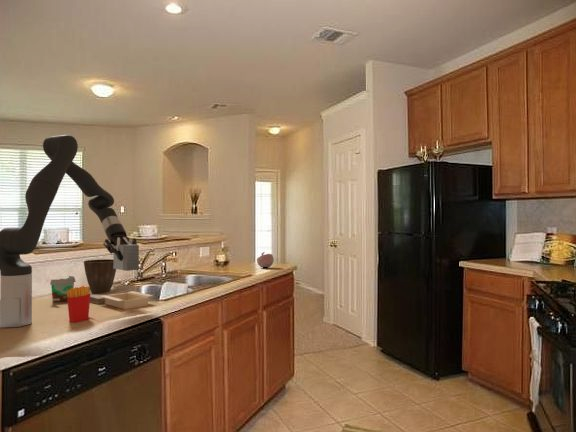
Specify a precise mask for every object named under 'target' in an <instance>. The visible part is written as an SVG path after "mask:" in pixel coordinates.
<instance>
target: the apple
mask: <svg viewBox="0 0 576 432" xmlns="http://www.w3.org/2000/svg"><path fill="white" fill-rule="evenodd" d="M274 258H275V257H274V256H273V254H272V253H265V251H263V252H261V255H259V256H258V257H257V258H256V263H257V265H258V266H259V267H260V268H262V267H269V268H270V267H272V266H273V264H274V262H275V261H274V260H275V259H274Z"/></svg>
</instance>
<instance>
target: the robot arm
mask: <svg viewBox="0 0 576 432" xmlns="http://www.w3.org/2000/svg"><path fill="white" fill-rule="evenodd" d="M78 149H79V145H78V141H77V139H76V138H75V137H74V135H70V134H62V135H53V136H48V137H46V138H45V139H44V140H43V142H42V150H43V151H44V154H45V155H46V156H47V157H48V158H49V159H50V161H49V162H48V164H46V165H45V166H44V167H43V168H42V169H41V170H39V171H38V172H37V173H36V174H35V175H34V177H32V179H31V180H30V182H29V185H28V187H27V189H26V192H25V195H24V196H25V197H24V198H25V203H26V206H27V207H26V208H27V211H28V213H27V216H26V220H25V222H24V223H23V226H21V227H4V228H3V229H1V230H0V328H20V327H22V326H23V327H24V326H27V325H30V324H32V323H33V267H32V265H31V264H30V263H27V262H25V261H24V260H23V259H22V258H21V255H30V254H32V253H33V252H34V250H36V247H37V246H38V245H39V244H38V243H39V240H40V237H41V233H42V231H43V228H44V223H45V221H46V218H47V215H48V213H49V211H50V208H51V206H52V204H53V201H54V200H55V198H56V195H57V193H58V191H59V188H60V187H61V184H62V182H63V180H64V177H65V176H66V175H67V176H68V177H70V179H71V180H72V181H73V182H74V183H75V185H76V186H77V187H78V189H80V190H81V192H82V193H83V194H84V196H85V197H87V198H90V199H89V200H88V203H87V204H88V205H87V206H88V208H89V209H90V210H91V211H92V212H93V213H94V214H95V215H96V216H97V218H98V219H99V221H100V223H101V225H102V228H103V231H104V233H105V235H106V237H107V239H106V238H105V240H104V241H103V246H104V247H105V249H106V250H107V251H108V252H109V254H114V253H115V254H116V256H117V258H118V259H119V260H120V261H122V259H123V256H122V253H121V251H119V250H120V249H119V245H126V244H127V245H138V244H137V239H136V238H135V237H134V238H129V237H128V235H127V232H126V230H125V228H124V226H123V224H122V222H121V219H119V217H118V214H117V212H116V211H115V209H113V208H111V207H112V206H113V205H114V204H115V199H114V197H113V196H112V194H111V193H109V191H107V190H105V189H104V188H103V187H101V186H100V184H99V183H98V182H97V181H96V179H95V178H94V176H93V175H92V174H91V173H89V171H87V170H85V169H84V168H83V167H81V166H80V165H78V164H76V163H75V162H74V160H75V157H77V156H76V155H77V152H78ZM114 246H116V247H114Z"/></svg>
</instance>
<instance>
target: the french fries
mask: <svg viewBox="0 0 576 432" xmlns="http://www.w3.org/2000/svg"><path fill="white" fill-rule="evenodd" d="M89 291H90V287H89V285H88V286H85V285H82V286H78V287H76V286H74V288H71V289H70V290H69V289H68V290H67V291H66V292H67V295H68V297H67V308H68V309H67V311H68V318H69V320H68V321H69V322H70V323H79V322H83V321H88V319H89V316H90V315H89V314H90V304H91V302H90V295H91V293H89Z"/></svg>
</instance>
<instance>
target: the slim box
mask: <svg viewBox="0 0 576 432" xmlns="http://www.w3.org/2000/svg"><path fill="white" fill-rule="evenodd" d="M139 246H140V245H139V244H137V245H127V244H126V245H119V249H120V250H119V251H121V253H122V256H123V259H122V261H120V260H119V259H118V258H117V256H116V254H115V253H113V260H114V265H113V269H116V270H119V271H120V270H121V271H127V272H129V271H138V270H140V267H139V265H140V262H139V261H140V259H139V258H140V256H139V255H140V250H139V249H140V247H139ZM113 247H116V246H114V245H113Z"/></svg>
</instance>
